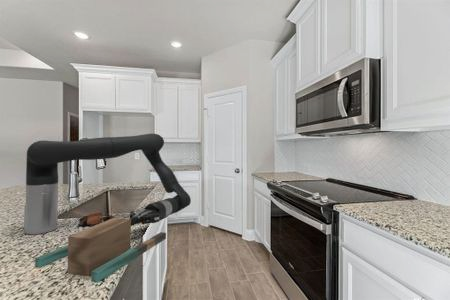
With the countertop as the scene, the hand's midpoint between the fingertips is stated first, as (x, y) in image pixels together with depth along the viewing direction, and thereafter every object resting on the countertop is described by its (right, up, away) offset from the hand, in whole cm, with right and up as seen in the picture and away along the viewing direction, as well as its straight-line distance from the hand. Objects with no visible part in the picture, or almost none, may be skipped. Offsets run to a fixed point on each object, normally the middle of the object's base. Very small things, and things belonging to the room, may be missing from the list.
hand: (127, 223), depth 73 cm
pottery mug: (-14, -6, +8) cm, 17 cm away
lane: (-2, -6, -6) cm, 9 cm away
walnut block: (-1, -6, -12) cm, 13 cm away
